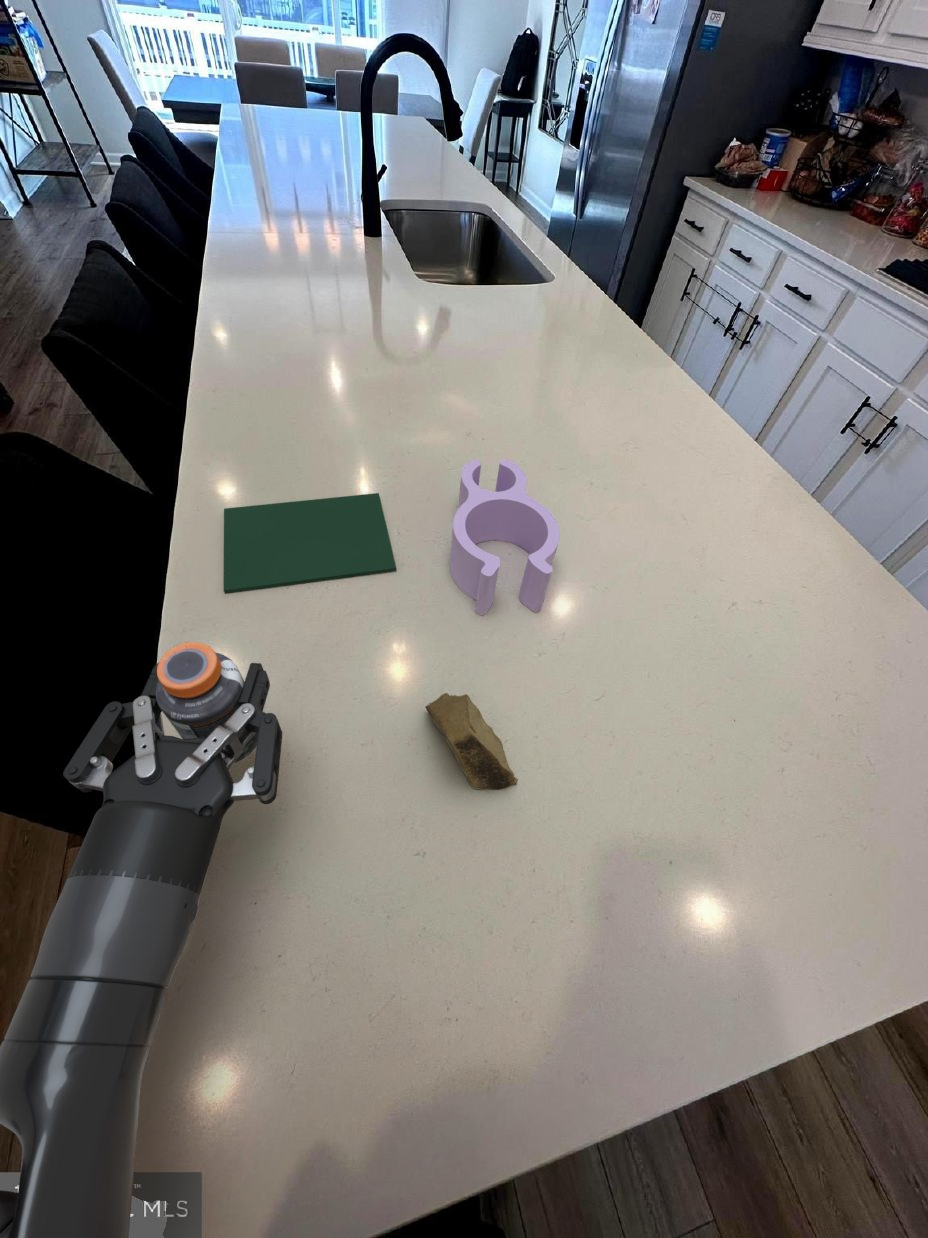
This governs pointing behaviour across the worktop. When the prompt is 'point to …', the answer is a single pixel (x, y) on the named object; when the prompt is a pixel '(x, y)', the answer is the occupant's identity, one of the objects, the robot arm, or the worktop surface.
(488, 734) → the rock
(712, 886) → the worktop surface
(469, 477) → the clip
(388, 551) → the mat
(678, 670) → the worktop surface
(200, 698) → the pill bottle
